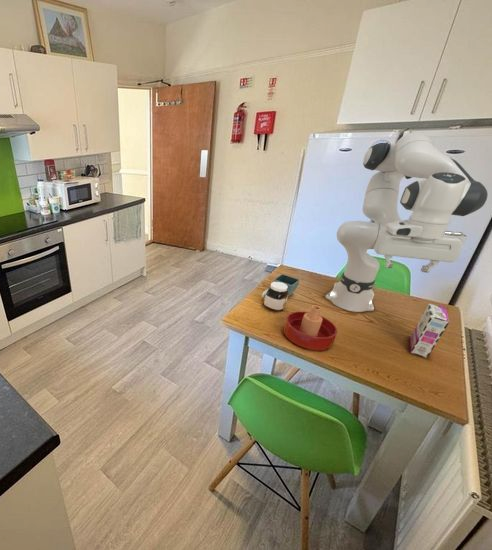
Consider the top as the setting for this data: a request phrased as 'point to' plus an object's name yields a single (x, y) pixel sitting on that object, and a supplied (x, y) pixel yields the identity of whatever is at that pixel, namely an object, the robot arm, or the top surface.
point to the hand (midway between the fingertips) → (405, 269)
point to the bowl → (306, 341)
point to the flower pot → (288, 282)
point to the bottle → (311, 322)
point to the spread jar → (276, 296)
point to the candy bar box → (429, 330)
